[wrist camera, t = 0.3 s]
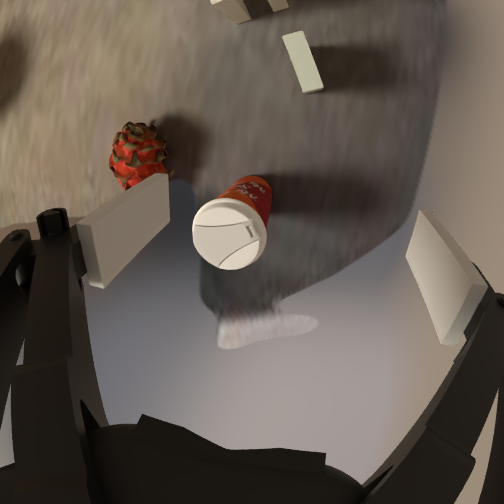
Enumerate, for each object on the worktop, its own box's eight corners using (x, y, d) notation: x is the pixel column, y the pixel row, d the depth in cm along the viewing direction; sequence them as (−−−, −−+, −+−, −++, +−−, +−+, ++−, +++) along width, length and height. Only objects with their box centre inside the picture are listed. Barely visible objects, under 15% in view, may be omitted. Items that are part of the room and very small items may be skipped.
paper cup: (266, 159, 39) (243, 190, 27) (289, 210, 42) (276, 262, 30) (215, 180, 42) (173, 219, 30) (238, 227, 44) (208, 282, 32)
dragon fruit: (153, 109, 40) (173, 181, 46) (98, 130, 37) (123, 201, 44) (162, 112, 33) (187, 197, 40) (96, 136, 31) (128, 221, 38)
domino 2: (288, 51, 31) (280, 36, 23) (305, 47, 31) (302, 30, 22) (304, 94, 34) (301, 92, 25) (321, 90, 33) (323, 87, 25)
